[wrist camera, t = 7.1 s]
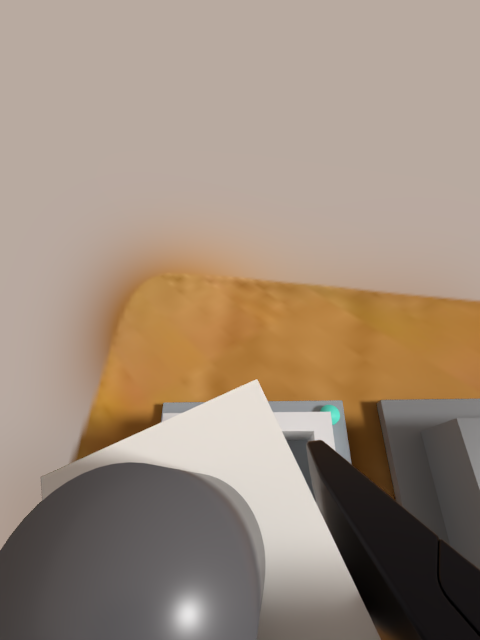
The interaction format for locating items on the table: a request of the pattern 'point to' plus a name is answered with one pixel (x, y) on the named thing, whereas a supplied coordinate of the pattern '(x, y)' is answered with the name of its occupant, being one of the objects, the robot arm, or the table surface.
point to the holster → (437, 466)
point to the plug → (182, 540)
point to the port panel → (297, 427)
